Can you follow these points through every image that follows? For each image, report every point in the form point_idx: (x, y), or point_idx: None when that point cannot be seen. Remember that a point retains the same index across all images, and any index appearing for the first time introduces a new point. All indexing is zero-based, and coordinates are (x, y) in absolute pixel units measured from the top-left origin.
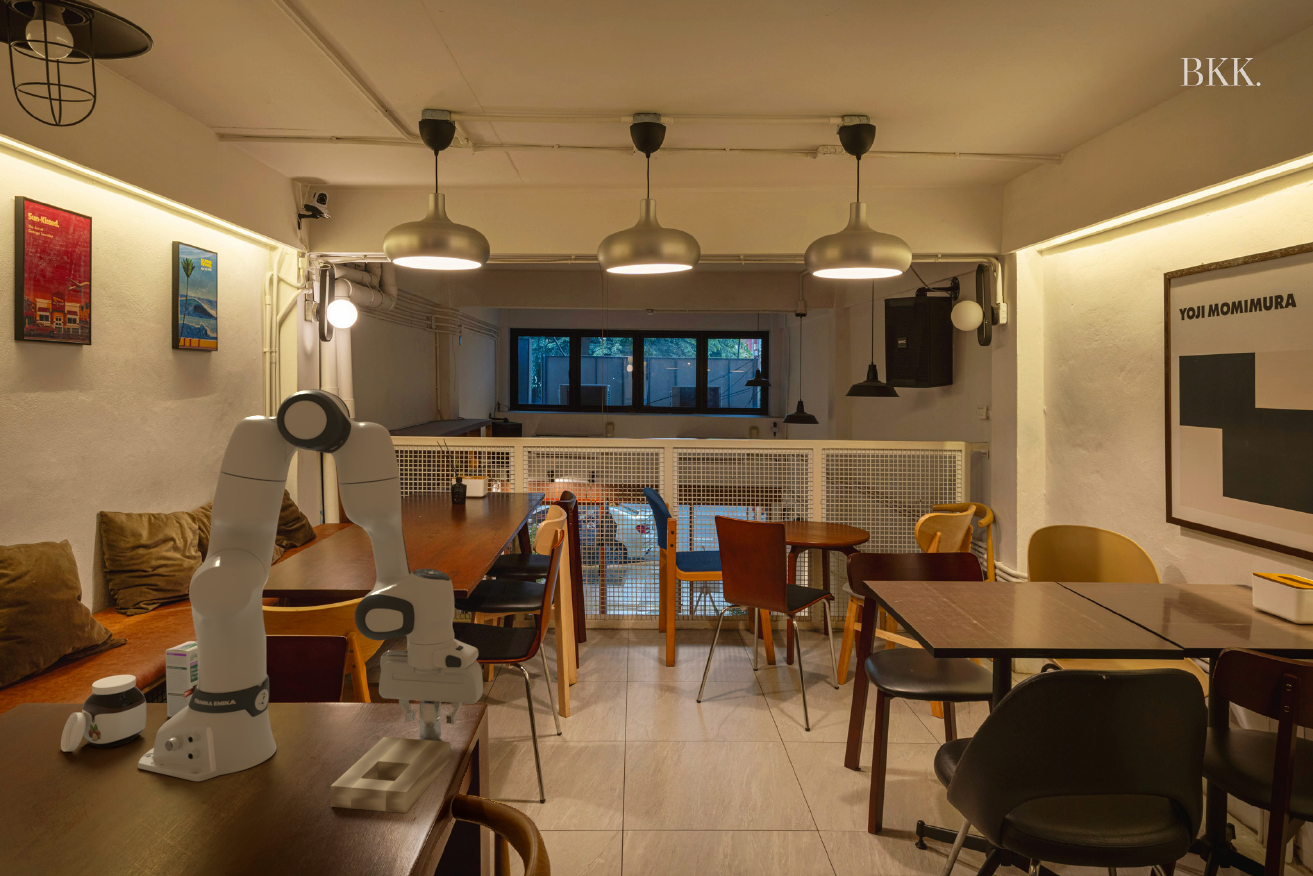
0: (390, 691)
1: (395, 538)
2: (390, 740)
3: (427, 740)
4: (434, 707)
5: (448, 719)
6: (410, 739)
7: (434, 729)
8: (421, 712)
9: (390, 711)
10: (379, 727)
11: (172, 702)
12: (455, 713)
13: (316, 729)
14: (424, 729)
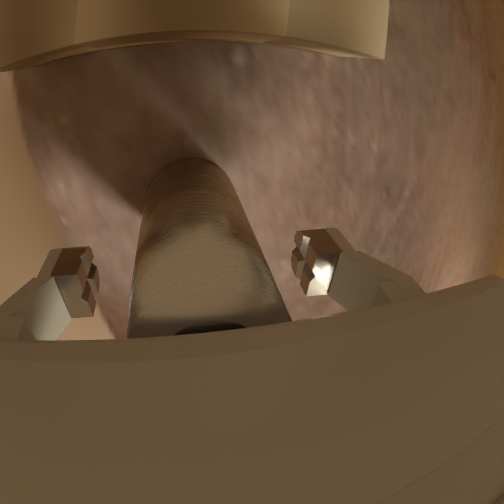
0: (501, 310)
1: None
2: (338, 11)
3: (103, 33)
4: (140, 295)
5: (69, 259)
6: (222, 23)
7: (150, 205)
8: (244, 247)
9: None
10: (391, 252)
11: None
12: (21, 289)
13: (492, 215)
14: (202, 187)
